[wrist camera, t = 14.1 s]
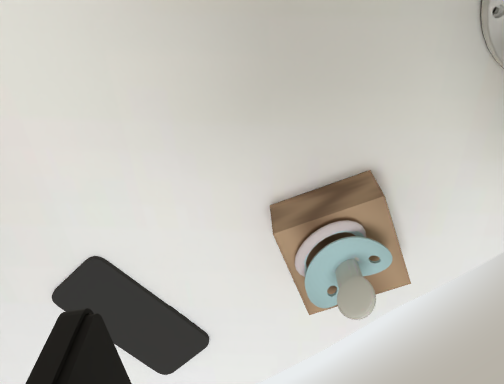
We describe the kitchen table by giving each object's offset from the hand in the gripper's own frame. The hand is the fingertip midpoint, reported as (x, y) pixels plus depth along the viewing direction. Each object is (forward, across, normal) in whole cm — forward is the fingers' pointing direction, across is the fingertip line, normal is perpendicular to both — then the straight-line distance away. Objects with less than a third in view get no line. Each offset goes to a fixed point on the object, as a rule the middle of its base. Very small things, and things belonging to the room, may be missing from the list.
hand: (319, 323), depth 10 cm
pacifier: (+24, -3, +16) cm, 29 cm away
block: (+29, -3, +16) cm, 33 cm away
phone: (+29, +17, +23) cm, 41 cm away
